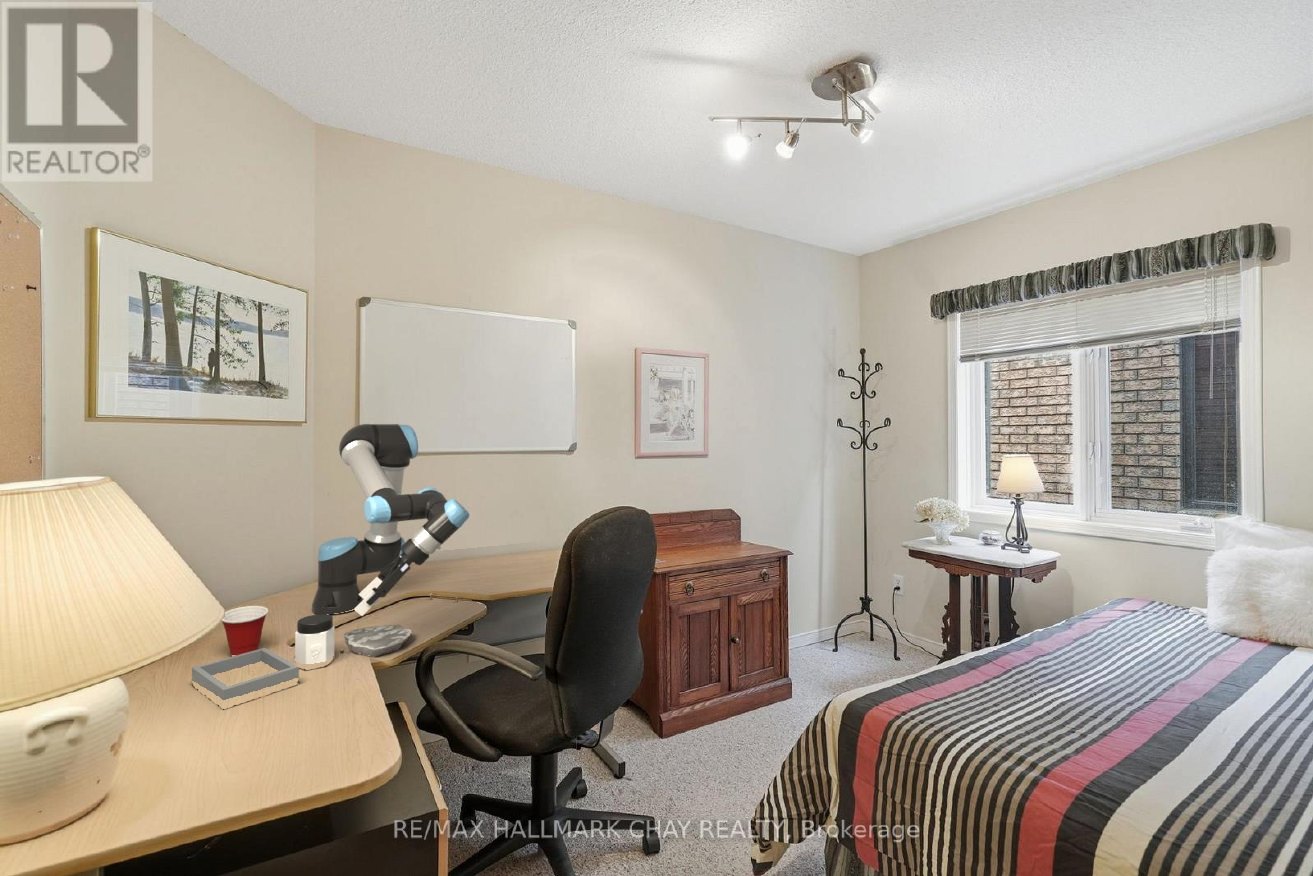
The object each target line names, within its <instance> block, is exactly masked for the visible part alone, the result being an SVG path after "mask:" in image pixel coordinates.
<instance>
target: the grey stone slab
mask: <svg viewBox="0 0 1313 876" xmlns="http://www.w3.org/2000/svg"><path fill="white" fill-rule="evenodd" d="M412 633H413V631H412V628H404V627H403V625H400V624H393V625H391V624H387V625H386V624H385V625H381V626H380V625H376V626H370V627H362V628H357V629H353V630H351V631H347V632H346V633H344V635H343V637H344V638H343V639H344V640H345V641H346V643H347V644H348V648H349V650H350V651H351V652H353V653H355V654H356V653H361V654H364V656H365V655H370V656H369V657H371V656H377V657H380V656H379V655H381V656H383V655H385V653H386V654H388V652H390V653H392V652H391V651H394V652H397V651H398V650H400V649H401V647H402V645H403V644H404V643H405V642H406V641H407V640H409V638H410V636H411V635H412ZM399 648H400V649H399ZM396 650H397V651H396ZM382 654H383V655H382Z"/></svg>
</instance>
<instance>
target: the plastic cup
mask: <svg viewBox="0 0 1313 876" xmlns="http://www.w3.org/2000/svg"><path fill="white" fill-rule="evenodd" d="M267 614H269V609H268V608H267V607H266V606H261V605H246V606H241V607H240V606H239V607H237V608H232V609H229V610H227V611H225V617H224V618H223V619H222V620H220V621H221V622H222V624H223V627H224V630H225V635H226V639H227V644H228V648H229V654H230V656H231V655H240V654H244V653H247V652H251V651H255V650H258V649H259V647H260V642H261V640H262V639H261V637H262V634H263V633H262V632H263V627H264V623H265V620H266V616H267Z"/></svg>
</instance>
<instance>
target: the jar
mask: <svg viewBox="0 0 1313 876" xmlns="http://www.w3.org/2000/svg"><path fill="white" fill-rule="evenodd" d="M333 621H334V620H333V615H327V614H312V615H308V616H304V617H301V618H299V619H298V620H297V623H296V624H297V627H296V631H295V632H294V633H295V634H294V637H295V640H294V641H295V643H294V645H295V646H294V648H295V649H294V652H295V653H294V660H295V661H296V662H299V663H301V664H314V663H320V662H325V661H327V660H328V659H330V658H332V657H333V656H334V657H335V625H334V622H333ZM295 661H294V662H295Z"/></svg>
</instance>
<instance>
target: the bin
mask: <svg viewBox="0 0 1313 876" xmlns="http://www.w3.org/2000/svg"><path fill="white" fill-rule="evenodd" d="M260 661H262V662H264V663H265V664H268V665H269V666H270V667H272V668H274V669H276V670H278V671H277V672H274V673H271V674H267V675H264V676H261V677H258V678H254V679H251V680H248V681H245V682H241V683H238V684H235V685H232V686H229V687H227V686H226V685H225V684H223V683H222V682H220V681H219V680H217V679H216V678H214V677H213V676H212V675H215V674H217V673H222V672H226V671H229V670H232V669H235V668H241V667H243V666H246V665H249V664H255V663H257V662H260ZM294 678H299V679H300V669H299V667H298V666H297V665H295V663H293V662H291V661H289V660H288V659H285V658H284V657H282V656H280V655H279V654H276V653H275V652H273V651H271V650H269V649H268V648H266V647H263V648H258V650H255V651H251V652H247V653H244V654H240V655H236V656H233V657H232V656H229V657H227V658H226V657H225V658H223V659H218V660H214V661H212V662H208V663H204V664H201V665H197V666H194V667H191V682H192V681H194V682H196V683H198V684H199V685H200V686H202V687H204V688H206V689H207V690H209V691H211V692H213V693H214V694H215V695H216V696H219V697H220V698H221V699H222V700H226V699H229V698H233V697H236V696H242V695H244V694H248V693H250V692H253V691H258V690H261V689H263V688H266V687H271V686H274V685H277V684H280V683H281V682H286V681H289V680H292V679H294Z"/></svg>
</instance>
